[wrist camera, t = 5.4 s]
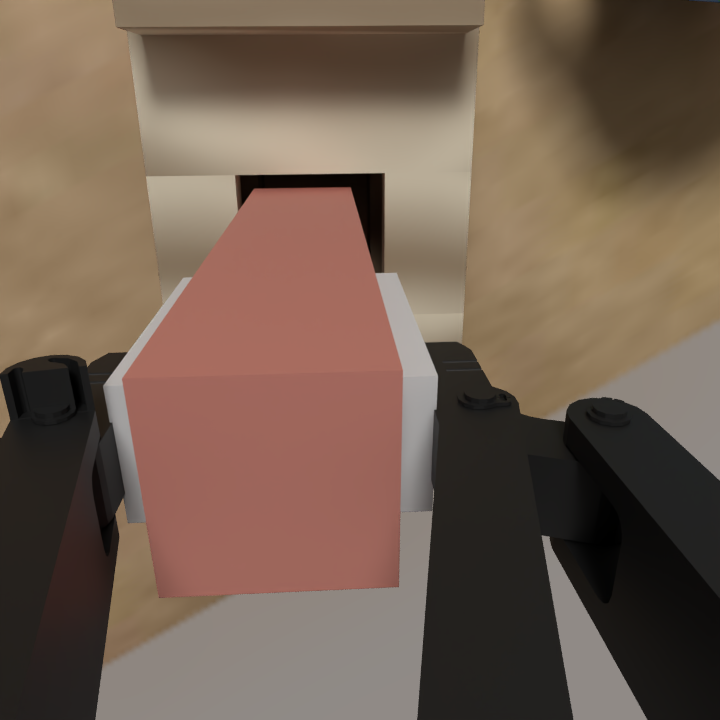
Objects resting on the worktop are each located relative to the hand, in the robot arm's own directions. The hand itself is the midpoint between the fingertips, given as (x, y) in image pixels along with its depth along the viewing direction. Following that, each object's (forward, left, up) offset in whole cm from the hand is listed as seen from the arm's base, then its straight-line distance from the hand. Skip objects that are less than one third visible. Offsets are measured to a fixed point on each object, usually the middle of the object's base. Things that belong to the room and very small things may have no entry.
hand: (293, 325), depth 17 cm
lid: (-3, 0, -12) cm, 12 cm away
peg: (0, 0, -11) cm, 11 cm away
